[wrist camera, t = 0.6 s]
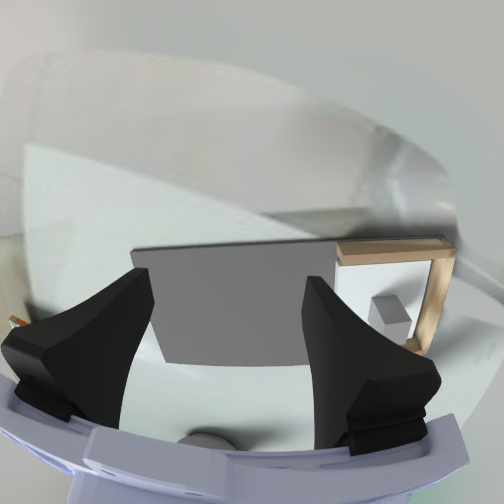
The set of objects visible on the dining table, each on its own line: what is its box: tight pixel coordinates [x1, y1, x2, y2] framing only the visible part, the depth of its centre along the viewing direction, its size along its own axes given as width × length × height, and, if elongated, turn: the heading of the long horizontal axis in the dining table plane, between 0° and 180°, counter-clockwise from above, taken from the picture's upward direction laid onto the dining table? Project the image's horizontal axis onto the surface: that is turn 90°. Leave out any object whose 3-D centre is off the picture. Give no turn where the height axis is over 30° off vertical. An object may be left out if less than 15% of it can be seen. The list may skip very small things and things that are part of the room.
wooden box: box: [336, 238, 457, 356], centre depth 23 cm, size 12×11×3 cm
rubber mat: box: [130, 235, 445, 367], centre depth 25 cm, size 14×30×1 cm, turn 95°
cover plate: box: [334, 259, 431, 345], centre depth 21 cm, size 9×9×5 cm
